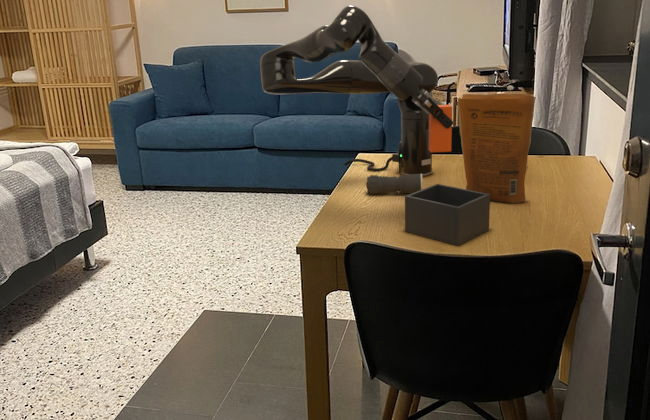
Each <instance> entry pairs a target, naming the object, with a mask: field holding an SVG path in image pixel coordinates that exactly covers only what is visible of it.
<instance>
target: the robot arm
mask: <svg viewBox="0 0 650 420" xmlns="http://www.w3.org/2000/svg"><path fill="white" fill-rule="evenodd" d="M357 42H359V44H360V47H361V48H360V52H359V56H358V57H359V59H357V60H355V59H354V60H353V59H342V60H341V59H340V60H337V61H335V62H333V63H331V64H329V65H328V66H327V67H325V68H324V69H322V70H321V71H319V72H318V73H316V74H314V75H312V76H309V77H305V78H296V68H295V61H294V60H295V59H296V58H297V59H299V60H302V61H304V62H307V63H311V64H312V63H319V62H322V61H324V60H325V59H327V58H329V57H331V56H333V55H334V54H339V53H345V52H347V51H349V50H350V49H351V48H353V46H355V45H356V43H357ZM259 69H260V81H261V82H260V83H261V88H262V91H263V92H264V93H266V94H270V95H298V94H318V93H319V94H323V93H324V94H345V95H362V94H363V95H365V94H381V93H392V94H393V95H394V96H395V97H396V98H397V105H398V110H399V112H400V141H399V142H398V147H397V148H398V149H397V150H398V151H397V152H395V153H392V154H391V157H389V158H388V159H387V160H386V162H385V165H384V166H383V167H379V168H378V167H377V168H376V167H374V166H375V162H374V161H371V160H366V159H363V158H362V159H361V158H352V159H348V160H347V161H346V162H344V163H343V166H347V165H349V164H351V163H364V164H368V165H367V167H366V169H367V171H370V172H381V171H385V170H387V169H388V167H389V165H390V162H392V163H393V162H394V163H397V164H398V173H399V174H401V175H410V174H422V177H428V176H430V175H432V174H433V152H432V153H431V152H430V151H429V113H430V114H431V115H432V116H433V117H434V118H436V119H437V120H438V121H439V122H440V123H441V124H442V125H443V126H444V127H446V128H447V129H448V128H450V127H451V126H452V127H453V124H454V120H453V119H452V120H451V119H450V118H449V117H448V116H447V115H446V114H445V113H444V111H443V110H442V109H441V108H440V107H439V106H438V105H439V104H438V102H437V101H436V100H435V99H434V98H433V97H432V96H431V93H432V92H433V91H435V89H436V87H437V85H438V83H439V76H438V73H437V71H436V70H435V69H434V67H432V66H431V65H430V64H428V63H424V62H419V61H407V60H406V59H405V58H404V57H403V56H401V55H400V54H398V53H397V52H396V51H395V50H394V49H393V48H392V47H391V46H390V45H389V44H388V43H387V42H386V41H385V40H383V38H382V36H381V35H380V33H379V31H378V29H377V27H376V26H375V24H374V22H373V21H372V20H371V18H370V17H369V15H368V14H367V13H366V12H365V11H364V10H363V9H362V8H360V7H358V6H355V5H347V6H345V7H343V8H342V9H341V10H340V12H339V13H338V14H337V15H336V16H335V18H334V19H333V21H332V22H331V23H330V24H326V25H322V26H320V27H318V28H316V29H315V30H313V31H312V32H311V33H308V34H307V35H306V36H304V37H302V38H299V39H298V40H295V41H292V42H289V43H286V44H284V45H281V46H279V47H276V48H274V49H270V50H269V51H267V52H265V53H264V54H263V55H262V56H261V57H260V60H259ZM436 109H438V110H437V111H436V112H435V113H434V114H433V112H434V111H435V110H436Z"/></svg>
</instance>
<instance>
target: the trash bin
mask: <svg viewBox="0 0 650 420" xmlns="http://www.w3.org/2000/svg"><path fill="white" fill-rule="evenodd" d="M490 208H491V201H490V194H486V193H481V192H476V191H471V190H466V188H461V187H455V186H451V185H445V184H440V183H435V184H433V185H430V186H428V187H425V188H423V189H422V190H420V191H417V192H414V193H412V194H410V193H408V194H406V195H404V232H407V233H411V234H414V235H418V236H422V237H425V238H428V239H433V240H436V241H440V242H444V243H448V244H452V245H455V246H459V245H462V244H464V243H466V242H468V241H470V240H472V239H475V237H477V236H479V235H482V234H484V233H485V232H488V231H489V230H490V213H491V209H490Z"/></svg>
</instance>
